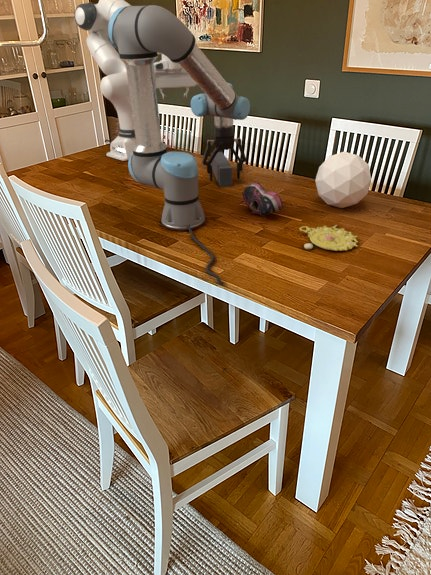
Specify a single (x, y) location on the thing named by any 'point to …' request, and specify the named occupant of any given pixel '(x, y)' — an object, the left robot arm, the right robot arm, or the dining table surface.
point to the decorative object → (330, 238)
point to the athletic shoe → (261, 200)
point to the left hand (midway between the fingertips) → (174, 98)
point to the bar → (222, 170)
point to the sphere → (343, 179)
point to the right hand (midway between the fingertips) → (224, 179)
